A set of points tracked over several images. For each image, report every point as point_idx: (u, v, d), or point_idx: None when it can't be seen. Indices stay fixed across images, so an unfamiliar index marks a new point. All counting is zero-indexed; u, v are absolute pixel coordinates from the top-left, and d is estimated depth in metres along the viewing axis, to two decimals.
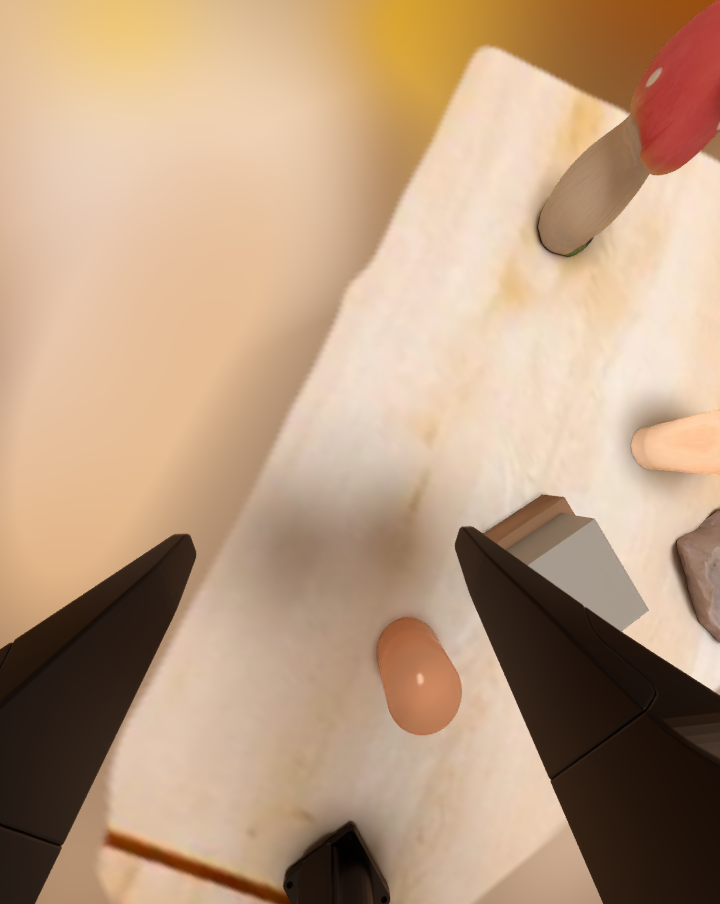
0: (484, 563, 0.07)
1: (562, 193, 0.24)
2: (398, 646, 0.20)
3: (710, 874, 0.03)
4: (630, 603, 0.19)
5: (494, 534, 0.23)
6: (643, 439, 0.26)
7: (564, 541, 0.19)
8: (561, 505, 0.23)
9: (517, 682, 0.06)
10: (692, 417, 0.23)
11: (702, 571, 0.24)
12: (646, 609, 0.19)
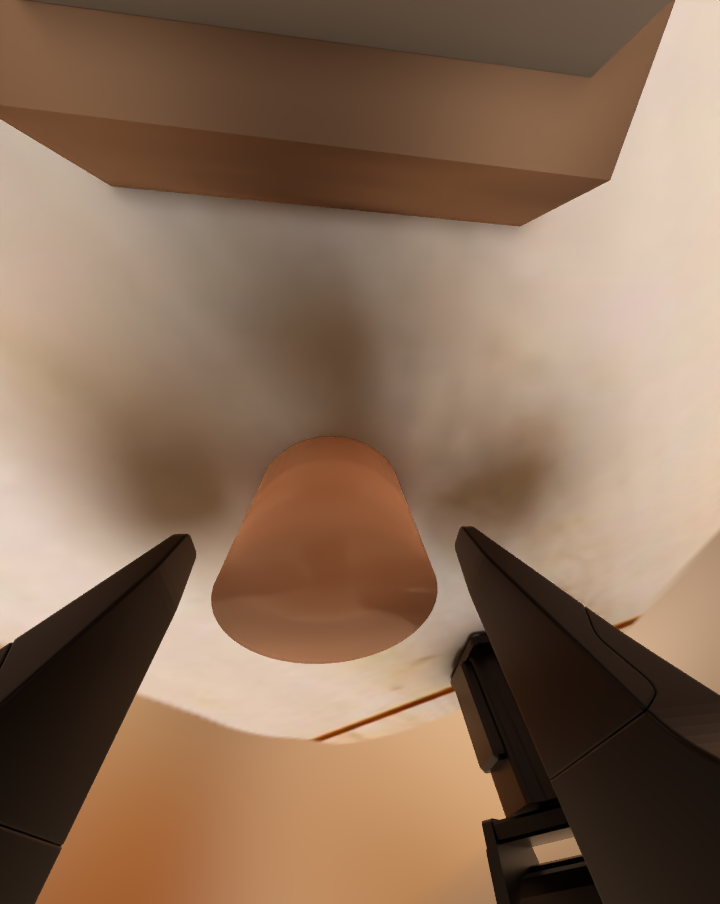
0: (484, 563, 0.07)
1: None
2: None
3: (710, 874, 0.03)
4: None
5: None
6: None
7: None
8: None
9: (517, 682, 0.06)
10: None
11: None
12: None
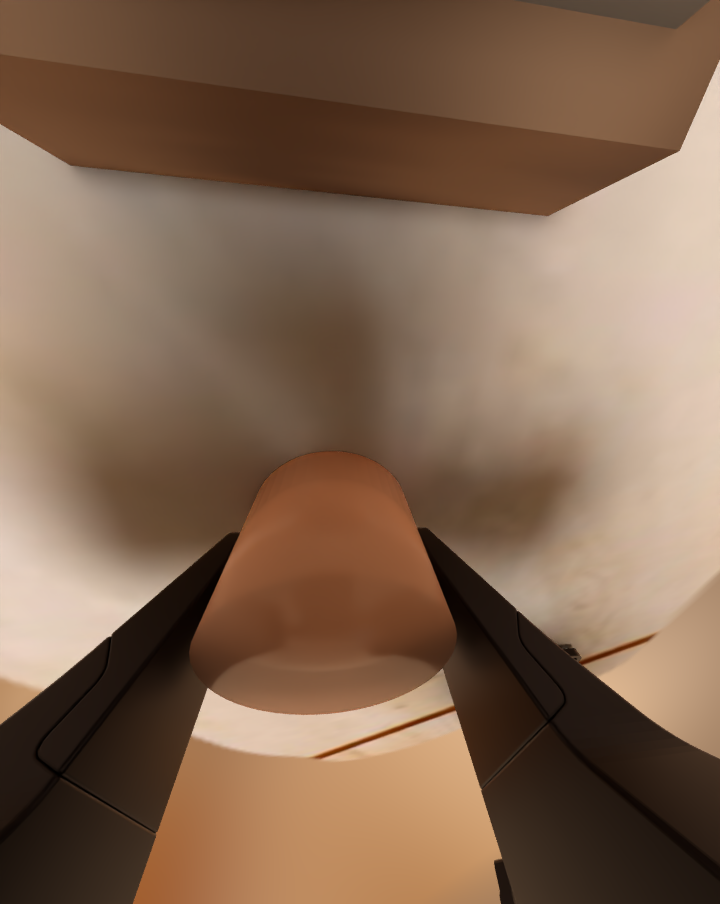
0: None
1: None
2: None
3: (599, 895, 0.03)
4: None
5: None
6: None
7: None
8: None
9: (456, 688, 0.06)
10: None
11: None
12: None
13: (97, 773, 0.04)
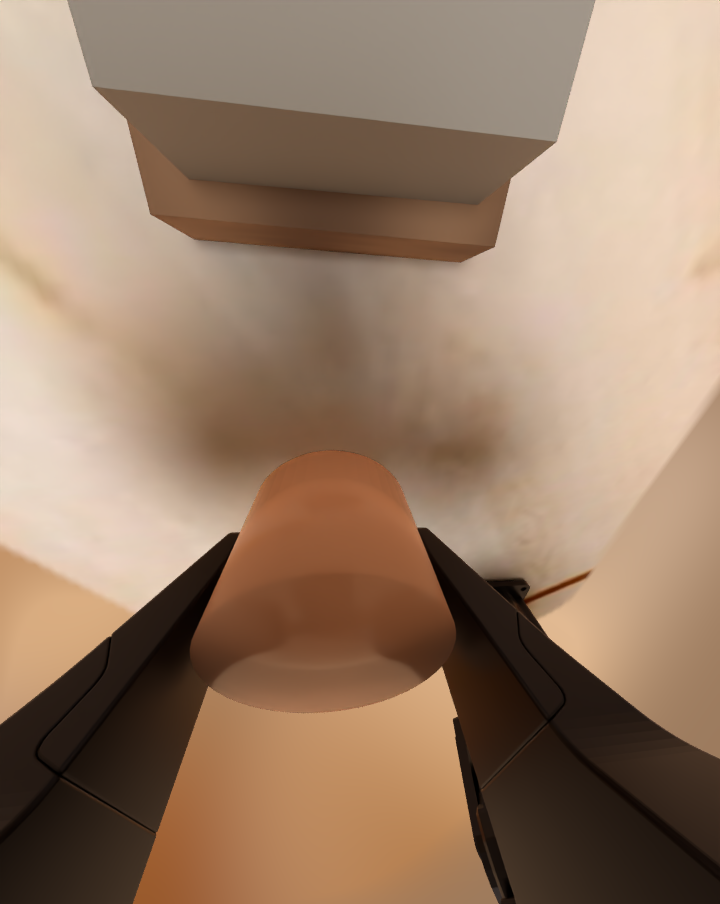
0: None
1: None
2: None
3: (599, 895, 0.03)
4: None
5: None
6: None
7: None
8: None
9: (456, 688, 0.06)
10: None
11: None
12: None
13: (98, 772, 0.04)
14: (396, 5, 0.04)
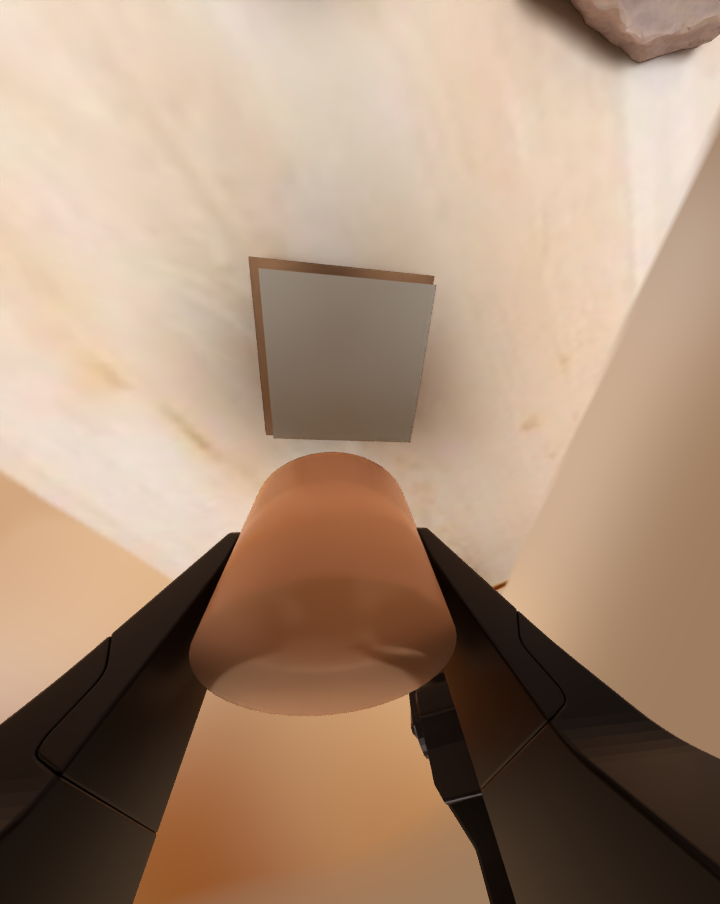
0: None
1: None
2: None
3: (599, 895, 0.03)
4: (407, 308, 0.12)
5: None
6: None
7: (267, 346, 0.12)
8: None
9: (455, 688, 0.06)
10: None
11: None
12: (433, 288, 0.12)
13: (99, 772, 0.04)
14: (358, 421, 0.14)
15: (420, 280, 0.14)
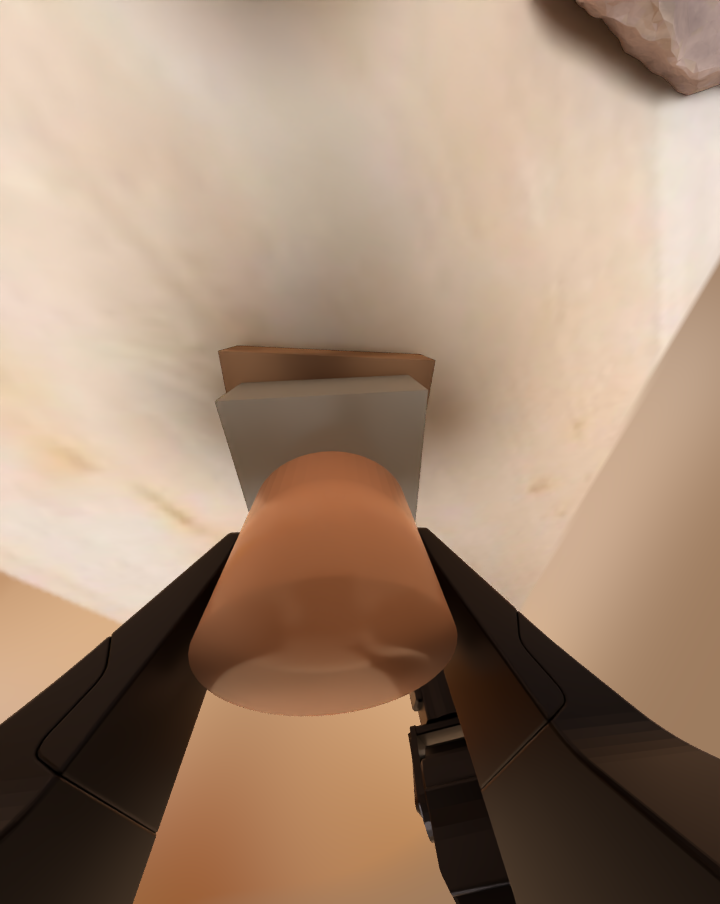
0: None
1: None
2: None
3: (599, 895, 0.03)
4: (395, 417, 0.10)
5: None
6: None
7: (239, 473, 0.11)
8: (232, 366, 0.12)
9: (456, 688, 0.06)
10: None
11: None
12: (424, 393, 0.10)
13: (98, 772, 0.04)
14: None
15: (419, 365, 0.12)
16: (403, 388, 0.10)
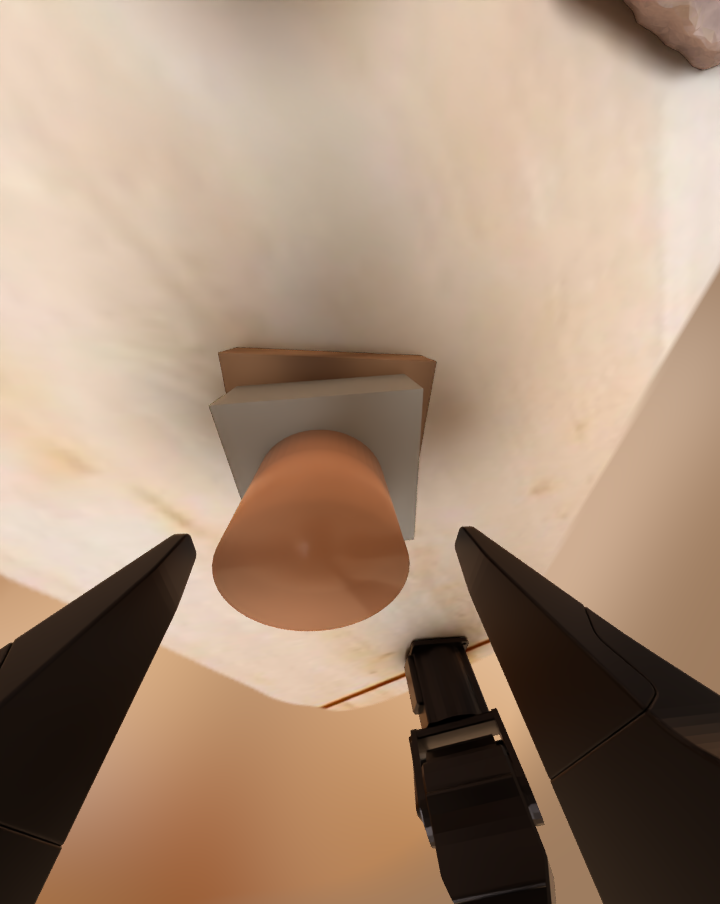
0: (484, 563, 0.07)
1: None
2: None
3: (710, 874, 0.03)
4: (391, 416, 0.10)
5: None
6: None
7: (236, 476, 0.11)
8: (232, 368, 0.11)
9: (517, 682, 0.06)
10: None
11: None
12: (419, 392, 0.10)
13: None
14: None
15: (420, 366, 0.12)
16: (398, 387, 0.10)
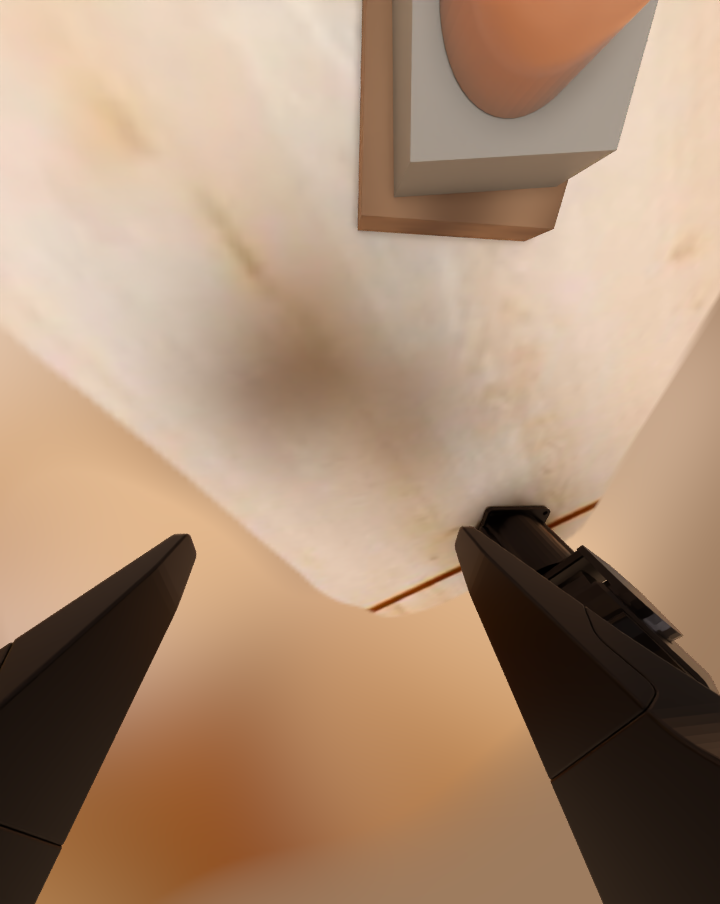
0: (484, 563, 0.07)
1: None
2: None
3: (710, 874, 0.03)
4: None
5: (361, 138, 0.12)
6: None
7: None
8: None
9: (517, 682, 0.06)
10: None
11: None
12: None
13: None
14: (543, 106, 0.09)
15: None
16: None
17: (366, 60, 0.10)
